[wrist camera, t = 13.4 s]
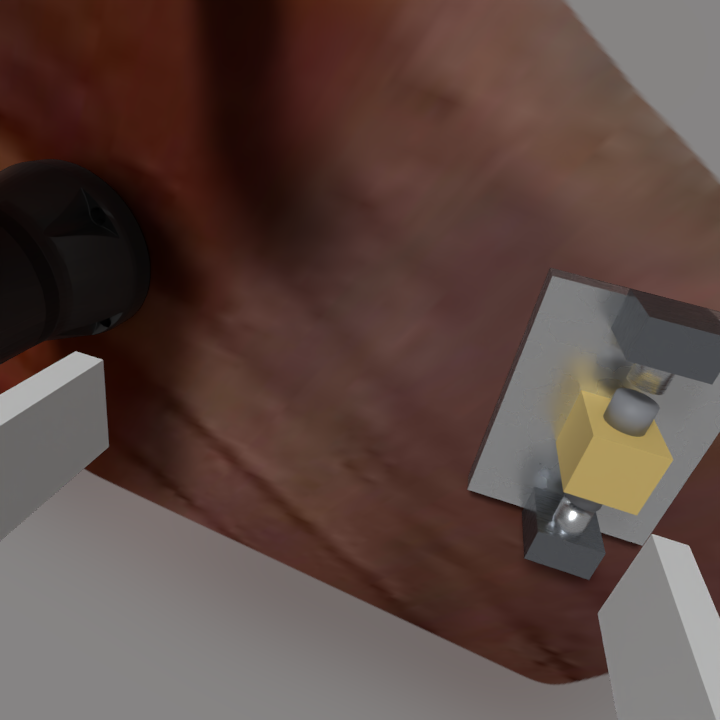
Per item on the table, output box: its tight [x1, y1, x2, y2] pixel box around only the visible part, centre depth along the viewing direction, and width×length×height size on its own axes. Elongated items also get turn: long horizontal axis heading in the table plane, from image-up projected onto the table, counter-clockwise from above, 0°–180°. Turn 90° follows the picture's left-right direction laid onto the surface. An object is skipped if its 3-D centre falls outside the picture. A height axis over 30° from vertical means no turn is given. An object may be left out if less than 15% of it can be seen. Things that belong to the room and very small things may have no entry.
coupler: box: [556, 388, 673, 515], centre depth 36 cm, size 9×5×6 cm, turn 168°
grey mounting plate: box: [467, 268, 720, 580], centre depth 37 cm, size 21×15×7 cm
